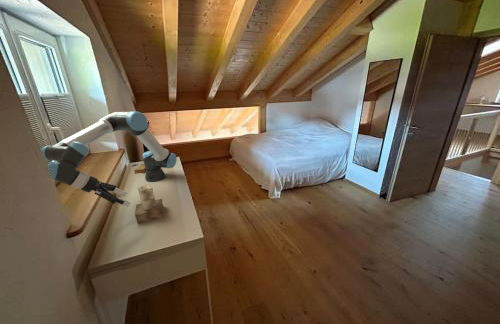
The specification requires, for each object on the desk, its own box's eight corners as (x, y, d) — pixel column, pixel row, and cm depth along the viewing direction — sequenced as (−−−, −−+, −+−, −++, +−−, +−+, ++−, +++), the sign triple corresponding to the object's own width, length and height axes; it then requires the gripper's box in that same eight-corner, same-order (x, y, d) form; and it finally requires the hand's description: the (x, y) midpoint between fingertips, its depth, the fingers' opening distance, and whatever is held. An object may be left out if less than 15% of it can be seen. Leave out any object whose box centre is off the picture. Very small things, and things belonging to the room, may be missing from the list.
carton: (134, 174, 185) (133, 169, 183) (142, 167, 200) (141, 163, 198) (144, 173, 185) (143, 169, 183) (151, 166, 200) (150, 162, 198)
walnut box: (163, 206, 133) (161, 198, 130) (164, 217, 122) (162, 208, 120) (138, 213, 127) (136, 204, 125) (137, 224, 117) (134, 215, 115)
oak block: (152, 202, 127) (148, 184, 123) (156, 206, 123) (152, 187, 118) (142, 206, 123) (137, 187, 119) (145, 210, 119) (141, 191, 115)
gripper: (80, 180, 110) (120, 196, 124) (79, 199, 91) (126, 215, 104) (90, 168, 111) (128, 185, 125) (90, 184, 92) (135, 202, 105)
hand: (127, 199), depth 114 cm, fingers open, 13 cm apart
